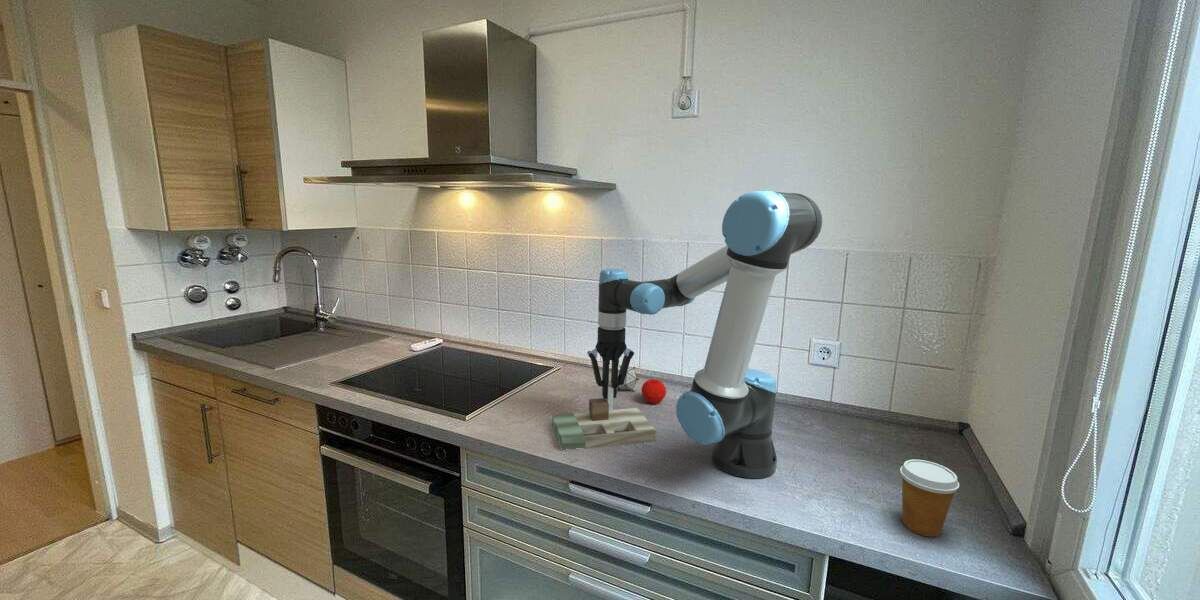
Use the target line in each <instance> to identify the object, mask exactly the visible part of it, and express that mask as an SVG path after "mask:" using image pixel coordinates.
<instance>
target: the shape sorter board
mask: <svg viewBox="0 0 1200 600" xmlns="http://www.w3.org/2000/svg"><path fill="white" fill-rule="evenodd" d="M551 426H553V427H552V429H553V431H555V432H554V433H555V436H557V437H556V439H557V441H559V442H558V444H559V443H560V444H559V447H560V446H561V447H560V449H561V448H562V450H565V451H567V450H566V449H575V450H577V449H576V448H584V449H591V448H590V447H594V448H602V447H601V446H603V447H610V446H612V447H613V446H619V445H621V446H622V445H630V444H638V443H641V444H642V443H649V442H656V439H657V437H656V436H657V434H656V433H657V429H656V428H655V427H654V426H653V425H652V424H651V423H650V422H649V420H648V419H647V418H646V417H645V416H644V414H643V413H642V412H641V411H640V409H639V408H638V407H633V408H622V409H613V411H609V420H598V421H592V419H591V417H590V415H589V411H587V412H585V411H584V412H573V413H563V414H562V413H561V414H560V413H559V414H552V415H551ZM562 450H561V451H562Z"/></svg>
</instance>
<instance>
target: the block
mask: <svg viewBox="0 0 1200 600" xmlns="http://www.w3.org/2000/svg"><path fill="white" fill-rule="evenodd" d="M588 400H589V401H588V412H589V415H590V417H591V419H592V421H598V420H609V403H608V402H607V400H606V399H604V398H603V397H601V398H600V397H599V398H589V399H588Z"/></svg>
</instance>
